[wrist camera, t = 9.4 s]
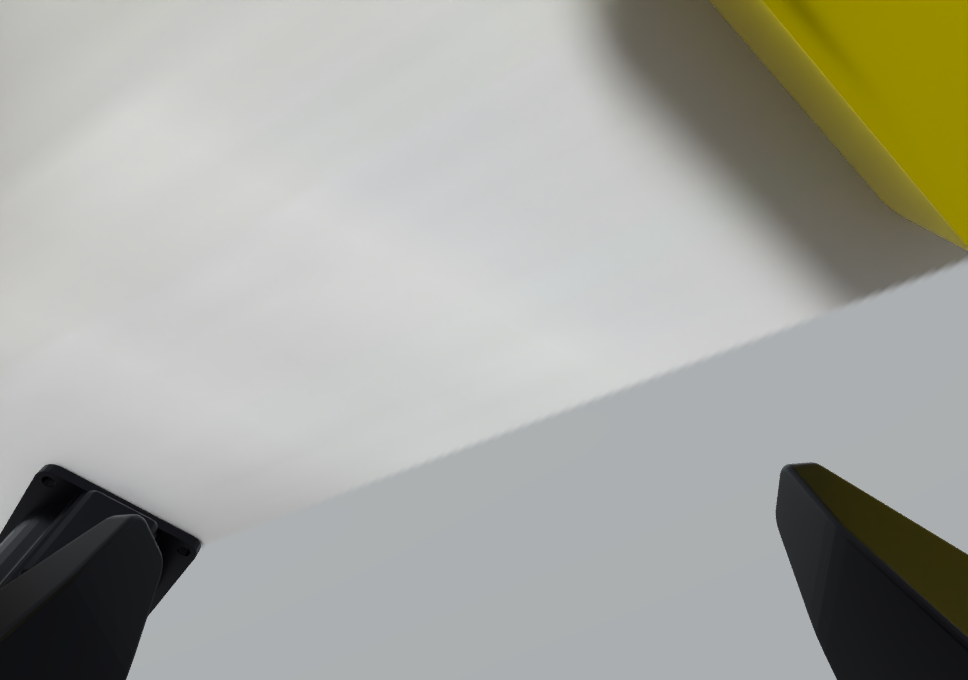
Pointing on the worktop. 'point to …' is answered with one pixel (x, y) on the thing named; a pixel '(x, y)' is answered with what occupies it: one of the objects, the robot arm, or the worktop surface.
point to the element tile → (878, 92)
